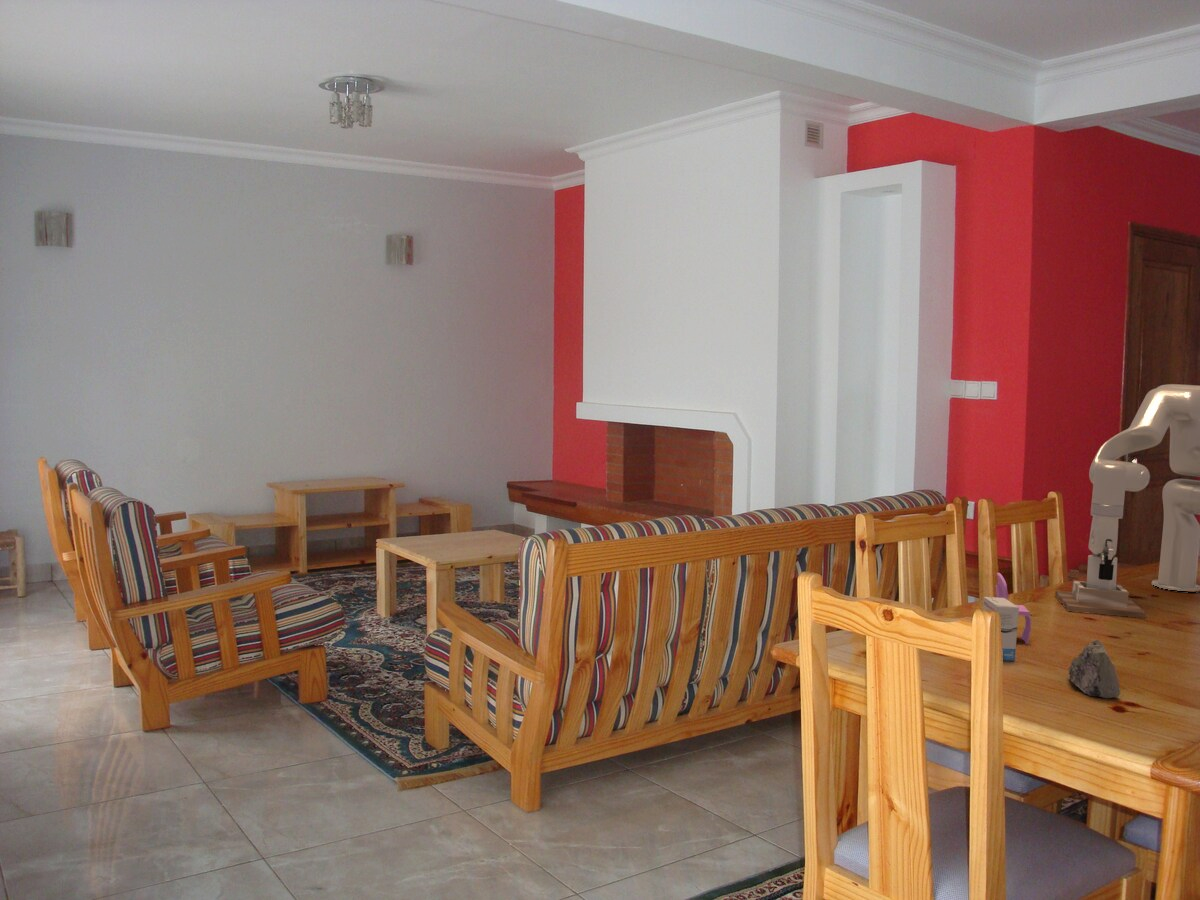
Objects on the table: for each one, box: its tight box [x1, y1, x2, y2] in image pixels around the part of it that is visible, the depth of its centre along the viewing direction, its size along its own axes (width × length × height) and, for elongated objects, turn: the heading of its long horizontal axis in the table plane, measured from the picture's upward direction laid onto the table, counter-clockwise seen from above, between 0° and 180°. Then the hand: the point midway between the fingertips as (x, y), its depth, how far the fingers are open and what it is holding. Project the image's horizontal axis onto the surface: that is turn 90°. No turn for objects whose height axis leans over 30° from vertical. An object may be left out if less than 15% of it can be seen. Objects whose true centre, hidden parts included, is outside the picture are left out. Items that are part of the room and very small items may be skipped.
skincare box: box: [1086, 553, 1118, 590], centre depth 269 cm, size 6×4×12 cm
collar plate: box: [1054, 580, 1147, 619], centre depth 270 cm, size 18×18×6 cm
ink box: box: [981, 596, 1019, 662], centre depth 221 cm, size 8×5×12 cm, turn 179°
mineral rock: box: [1068, 639, 1122, 699], centre depth 200 cm, size 13×11×10 cm
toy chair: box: [995, 572, 1032, 645], centre depth 234 cm, size 8×9×15 cm
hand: (1101, 575), depth 270 cm, fingers open, 9 cm apart
